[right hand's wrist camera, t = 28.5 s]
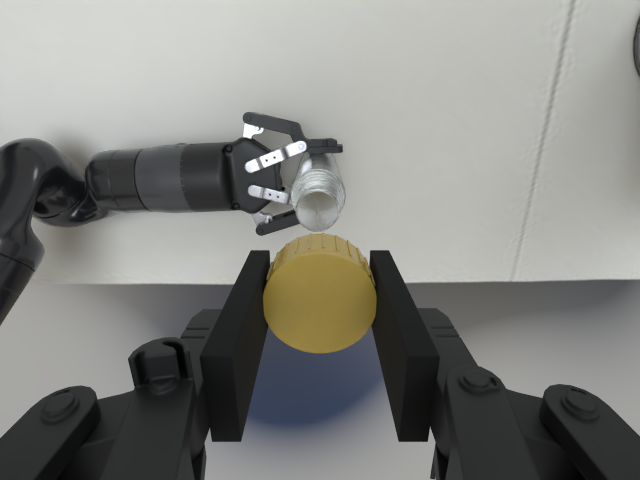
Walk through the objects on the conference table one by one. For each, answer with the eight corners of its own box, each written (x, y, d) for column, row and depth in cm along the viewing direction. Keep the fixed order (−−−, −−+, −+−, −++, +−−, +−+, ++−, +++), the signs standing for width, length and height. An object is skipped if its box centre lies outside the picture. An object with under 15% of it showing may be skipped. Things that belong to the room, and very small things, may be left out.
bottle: (296, 151, 44) (278, 186, 24) (332, 143, 44) (343, 172, 24) (304, 185, 46) (293, 246, 25) (338, 178, 45) (354, 234, 25)
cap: (280, 331, 15) (275, 362, 14) (257, 241, 14) (247, 262, 12) (377, 316, 15) (384, 345, 13) (363, 223, 14) (370, 242, 12)
